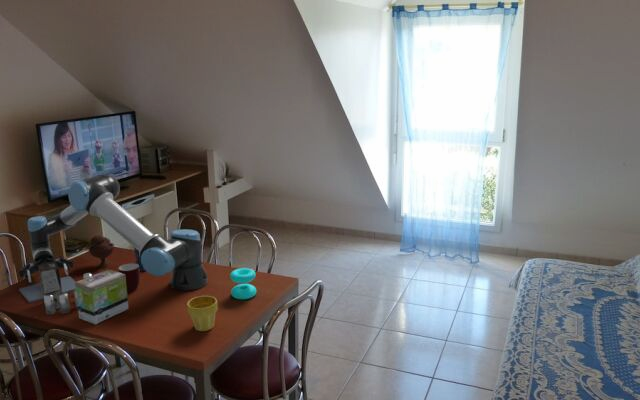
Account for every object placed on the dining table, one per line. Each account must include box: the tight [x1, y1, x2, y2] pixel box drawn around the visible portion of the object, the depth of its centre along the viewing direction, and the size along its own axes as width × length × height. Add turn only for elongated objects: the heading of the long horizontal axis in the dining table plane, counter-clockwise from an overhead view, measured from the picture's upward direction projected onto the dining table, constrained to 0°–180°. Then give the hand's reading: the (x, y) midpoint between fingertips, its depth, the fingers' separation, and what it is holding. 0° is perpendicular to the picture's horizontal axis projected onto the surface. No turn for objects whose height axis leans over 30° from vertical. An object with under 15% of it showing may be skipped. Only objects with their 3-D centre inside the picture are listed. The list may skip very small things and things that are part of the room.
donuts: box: [229, 267, 258, 300], centre depth 228 cm, size 10×10×10 cm
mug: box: [118, 262, 141, 293], centre depth 234 cm, size 11×8×10 cm
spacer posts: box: [43, 272, 93, 315], centre depth 225 cm, size 17×21×7 cm
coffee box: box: [38, 262, 62, 310], centre depth 222 cm, size 9×6×16 cm
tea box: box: [75, 269, 129, 325], centre depth 214 cm, size 15×10×15 cm, turn 148°
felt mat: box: [18, 275, 76, 304], centre depth 237 cm, size 16×20×1 cm
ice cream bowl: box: [88, 234, 115, 269], centre depth 260 cm, size 11×11×15 cm
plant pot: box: [186, 295, 219, 332], centre depth 203 cm, size 10×10×10 cm
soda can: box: [133, 246, 146, 271], centre depth 257 cm, size 7×7×12 cm
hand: (48, 275), depth 230 cm, fingers open, 13 cm apart
